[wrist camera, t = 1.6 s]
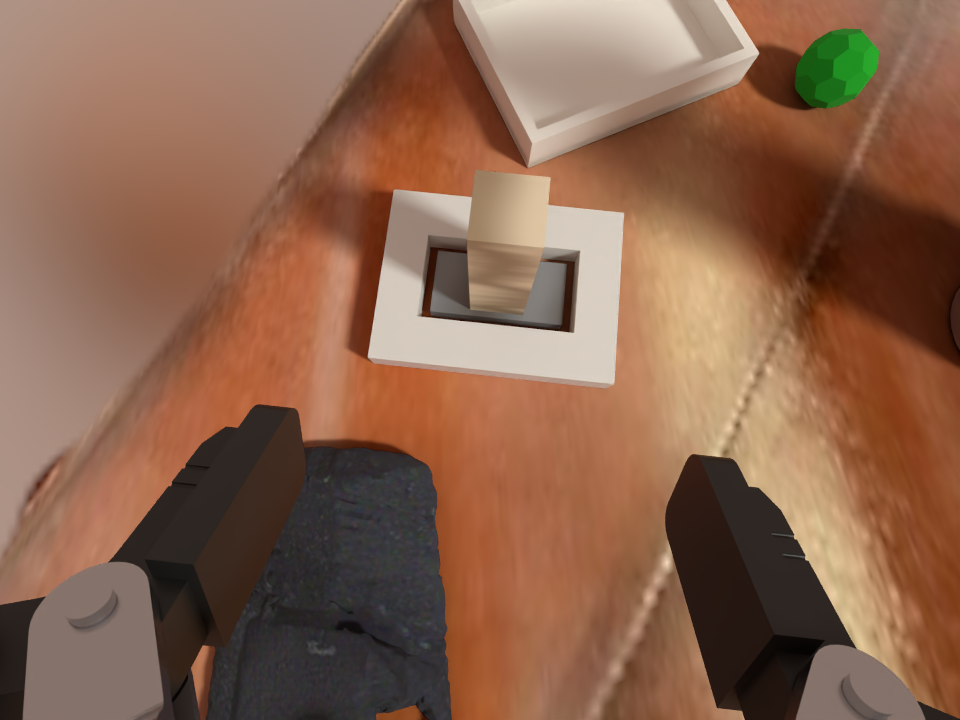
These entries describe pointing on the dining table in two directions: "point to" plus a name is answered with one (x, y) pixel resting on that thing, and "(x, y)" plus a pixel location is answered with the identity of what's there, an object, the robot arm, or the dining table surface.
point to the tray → (598, 63)
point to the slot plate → (489, 346)
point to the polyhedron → (836, 68)
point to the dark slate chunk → (344, 601)
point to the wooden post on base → (503, 258)
